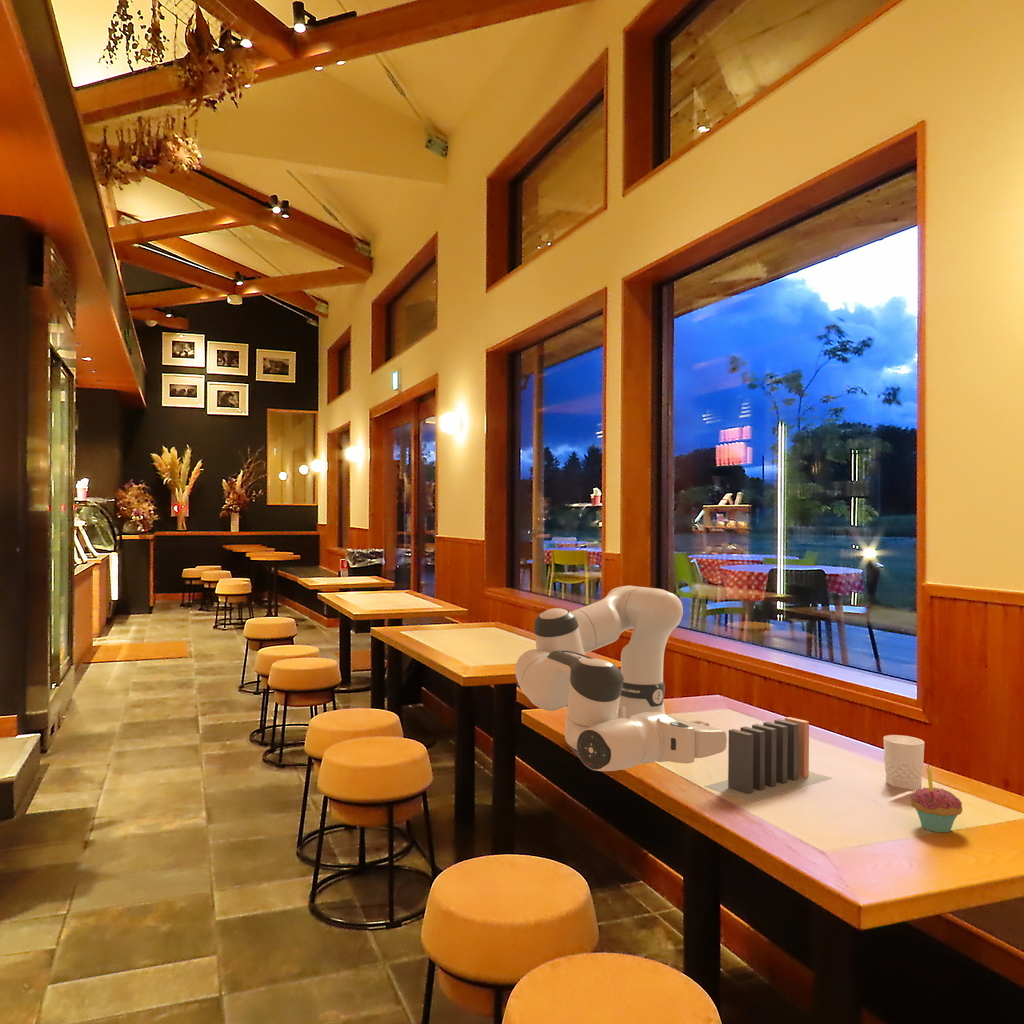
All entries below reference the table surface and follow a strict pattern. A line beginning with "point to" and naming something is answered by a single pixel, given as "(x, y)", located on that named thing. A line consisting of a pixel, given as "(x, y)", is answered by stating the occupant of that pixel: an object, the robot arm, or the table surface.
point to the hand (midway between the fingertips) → (703, 725)
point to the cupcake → (936, 807)
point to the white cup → (904, 761)
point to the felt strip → (768, 790)
